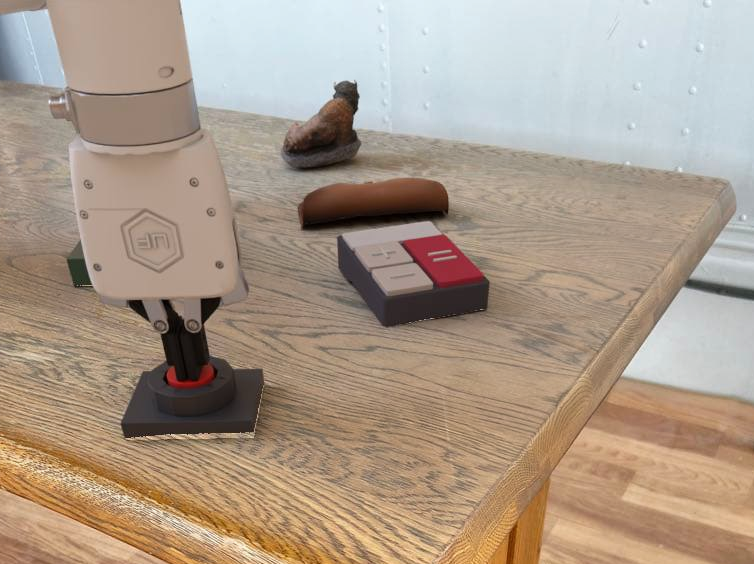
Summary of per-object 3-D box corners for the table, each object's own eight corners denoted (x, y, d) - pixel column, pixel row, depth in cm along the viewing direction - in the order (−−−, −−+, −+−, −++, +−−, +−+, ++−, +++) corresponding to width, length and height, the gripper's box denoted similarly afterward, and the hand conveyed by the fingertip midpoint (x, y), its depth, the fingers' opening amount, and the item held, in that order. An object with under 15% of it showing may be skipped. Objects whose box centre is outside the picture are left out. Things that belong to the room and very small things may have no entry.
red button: (167, 403, 63) (162, 384, 61) (175, 380, 65) (171, 361, 64) (213, 402, 63) (209, 383, 62) (219, 379, 65) (216, 360, 64)
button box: (125, 441, 62) (114, 403, 60) (147, 388, 68) (137, 351, 66) (254, 439, 62) (248, 400, 60) (264, 386, 68) (259, 348, 66)
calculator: (383, 292, 74) (335, 228, 84) (384, 334, 77) (337, 267, 87) (492, 274, 77) (432, 214, 87) (488, 315, 80) (431, 252, 90)
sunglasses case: (432, 192, 104) (439, 152, 98) (443, 236, 102) (452, 199, 95) (293, 204, 101) (292, 163, 95) (302, 250, 99) (302, 212, 92)
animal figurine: (292, 176, 111) (284, 95, 104) (274, 163, 115) (265, 84, 109) (370, 164, 115) (368, 84, 108) (350, 151, 119) (346, 74, 113)
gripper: (-3, 132, 48) (82, 400, 60) (249, 128, 48) (282, 395, 60) (37, 101, 53) (107, 351, 66) (262, 97, 54) (290, 347, 66)
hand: (191, 371), depth 63 cm, fingers closed
